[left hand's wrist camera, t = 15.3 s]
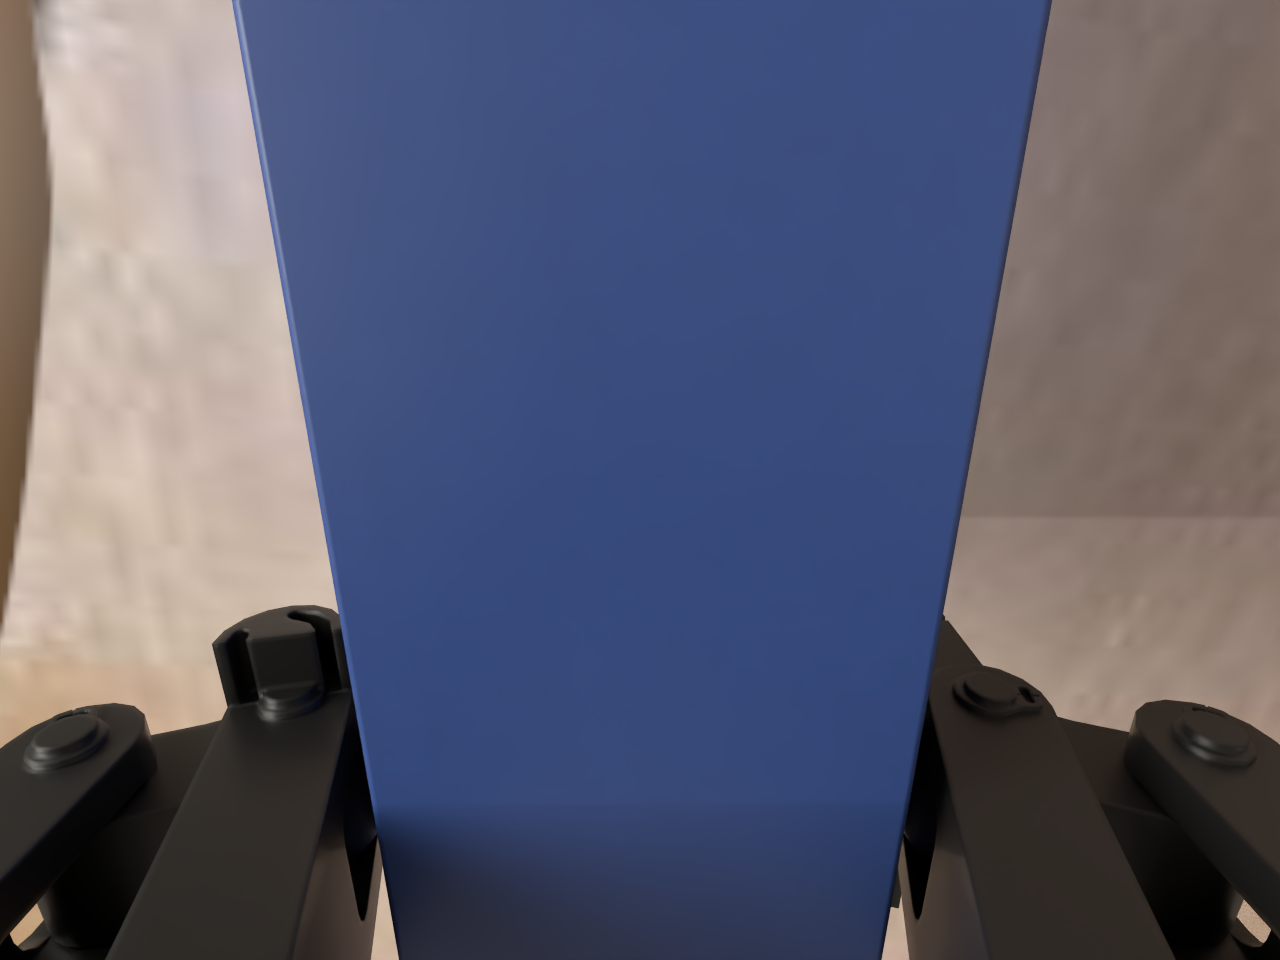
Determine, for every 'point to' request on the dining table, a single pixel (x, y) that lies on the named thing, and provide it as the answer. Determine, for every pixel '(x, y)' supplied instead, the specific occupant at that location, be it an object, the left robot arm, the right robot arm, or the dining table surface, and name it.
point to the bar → (641, 438)
